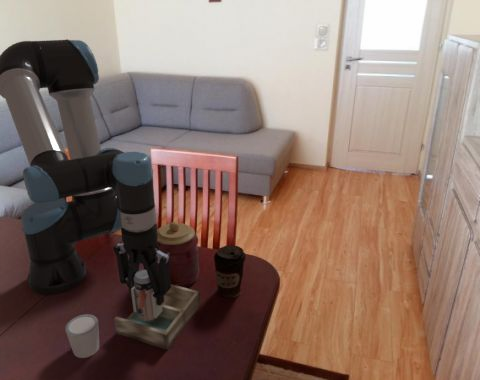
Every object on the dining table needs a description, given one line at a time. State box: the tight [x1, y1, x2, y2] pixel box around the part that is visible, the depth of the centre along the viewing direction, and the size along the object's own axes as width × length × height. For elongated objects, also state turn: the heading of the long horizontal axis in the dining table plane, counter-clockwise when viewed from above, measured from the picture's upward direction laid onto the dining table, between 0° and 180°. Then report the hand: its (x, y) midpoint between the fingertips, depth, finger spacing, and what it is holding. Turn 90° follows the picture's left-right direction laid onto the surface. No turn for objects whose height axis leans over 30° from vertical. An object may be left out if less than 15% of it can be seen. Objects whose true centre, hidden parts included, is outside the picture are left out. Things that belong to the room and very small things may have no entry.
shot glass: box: [65, 313, 100, 359], centre depth 90 cm, size 7×7×7 cm
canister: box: [156, 221, 200, 288], centre depth 113 cm, size 13×13×18 cm
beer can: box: [134, 268, 155, 321], centre depth 93 cm, size 5×5×12 cm
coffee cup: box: [213, 244, 247, 298], centre depth 108 cm, size 9×8×13 cm
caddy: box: [113, 284, 201, 351], centre depth 99 cm, size 14×16×4 cm
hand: (148, 311), depth 95 cm, fingers closed on beer can, 5 cm apart
